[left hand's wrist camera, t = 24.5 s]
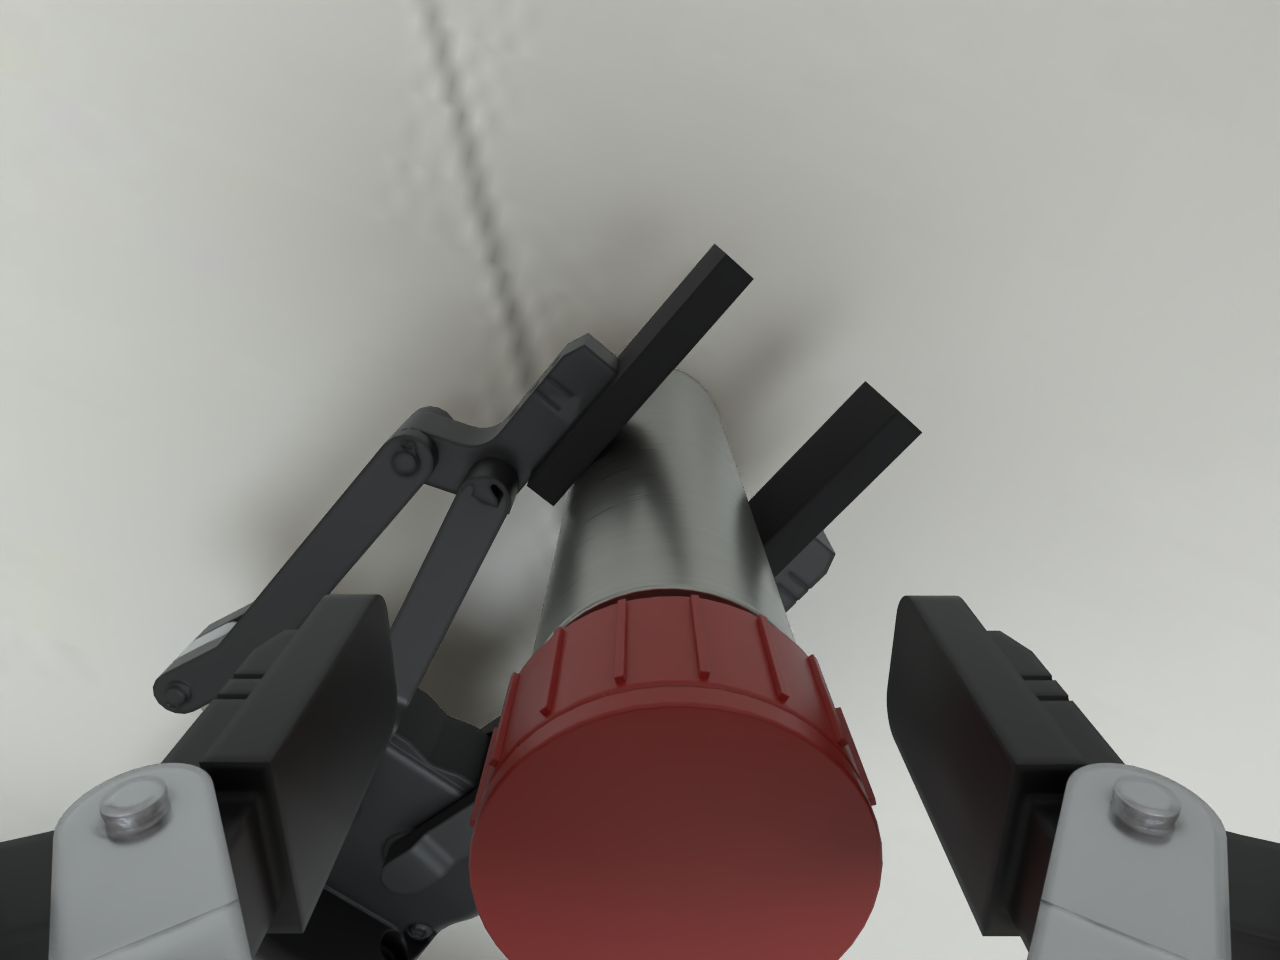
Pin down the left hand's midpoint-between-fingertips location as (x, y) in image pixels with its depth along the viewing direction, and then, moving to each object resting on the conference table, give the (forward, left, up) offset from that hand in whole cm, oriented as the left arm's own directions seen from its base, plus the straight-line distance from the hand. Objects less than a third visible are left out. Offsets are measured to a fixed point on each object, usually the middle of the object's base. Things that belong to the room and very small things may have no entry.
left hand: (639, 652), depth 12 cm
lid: (+1, +1, +3) cm, 3 cm away
